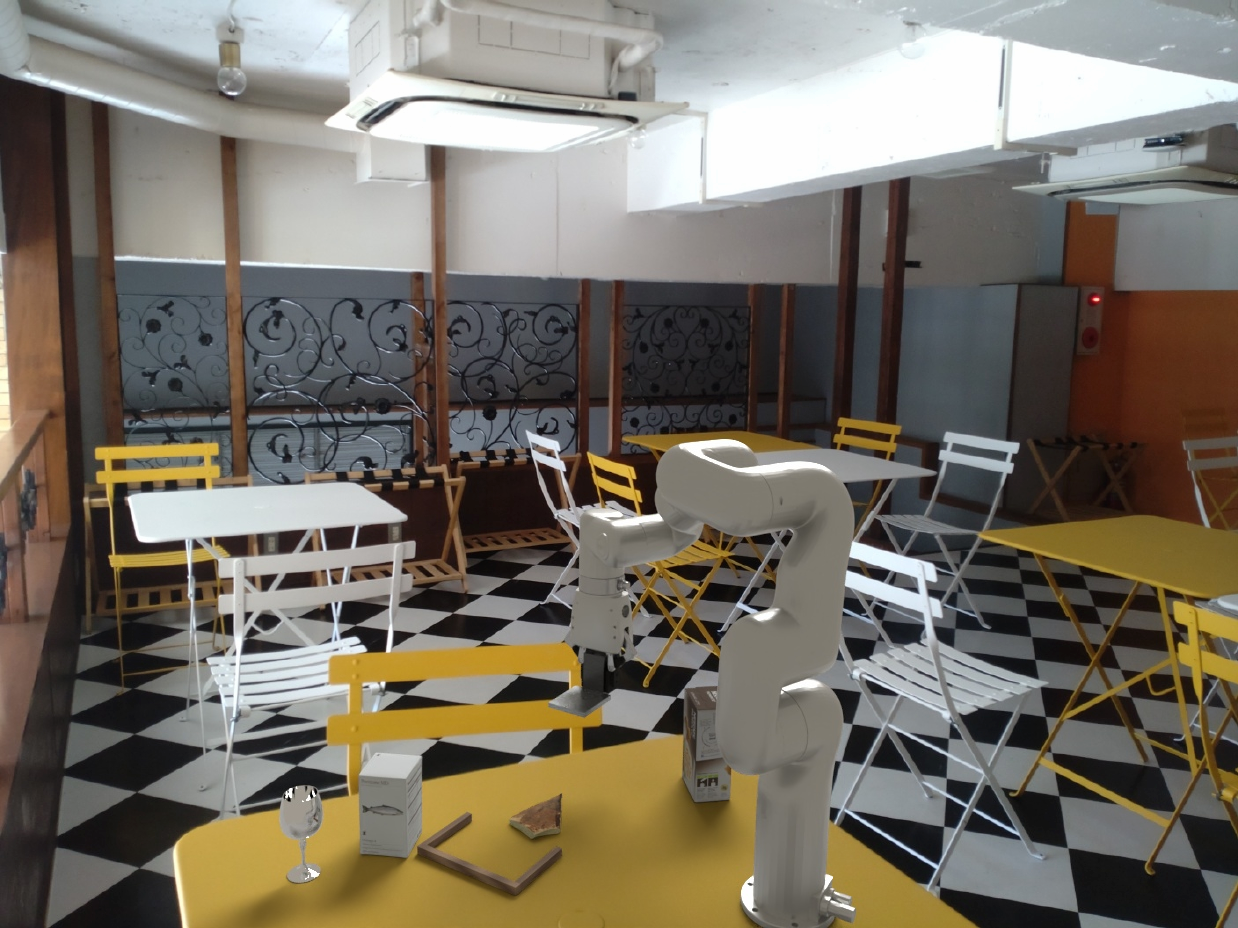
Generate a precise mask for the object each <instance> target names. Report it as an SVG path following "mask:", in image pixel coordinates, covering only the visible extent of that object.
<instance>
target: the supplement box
mask: <svg viewBox="0 0 1238 928" xmlns="http://www.w3.org/2000/svg"><path fill="white" fill-rule="evenodd" d="M422 775H423V755H415V754H400V753H389V752H388V753H386V752H375V753H374V754H373V755H372V757H371V758H370V759H369V761H368V762H367V763H366V764H365V766H364V767H363V768H362V770H361V771H360V773H359V774H358V812H359V814H358V816H359V821H358V822H359V854H360V855H372V856H373V855H374V856H386V857H387V856H388V857H397V858H403V859H407V858H408V857H409V856H410V854H411V851H412V850H413V848H414V847H415V845H416V843H417V842H418V840H419V838H420V836H421V834H422V832H423V776H422Z"/></svg>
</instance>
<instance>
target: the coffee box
mask: <svg viewBox="0 0 1238 928" xmlns="http://www.w3.org/2000/svg"><path fill="white" fill-rule="evenodd" d="M717 688H718V685H709V686H707V685H706V686H704V685H703V686H696V687H686V688H684V689H683V690H684V691H683V692H684V694H683V695H684V698H683V699H684V700H683V735H682V736H683V738H682V739H683V740H682V769H681V770H682V773H681V774H682V775H681V777H682V780H683V781H684V783H685V785H686V787H687V790H688V792H689V794H690V796H691V798H692V800H693V802H694V803H702V802H703V803H704V802H715V801H716V802H718V801H728V800H730V799H731V791H732V790H731V785H732V784H731V783H732V768H730V767H729V765H728V764H727V763H726V762H725V760H724V759H723V757H722V755H721V753H720V750H719V747H718V743H717V739H716V729H715V718H716V702H717Z"/></svg>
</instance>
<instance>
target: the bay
mask: <svg viewBox="0 0 1238 928" xmlns="http://www.w3.org/2000/svg"><path fill="white" fill-rule="evenodd" d="M472 821H473V814H472V813H471V812H468V811H466V812H465V813H463V814H462V815H460V816H459V817H458V818H456V819H454V820H453V821H451V822H450V823H449V824H447V825H446V826H444V827H443V828H441V829H440V830H438V831H437V832H435V833H434V834H433V835H431V836H429V838H426V839H425V840H424V841H422V842H421V843H420V844H418V845H417V846H416V854H417V855H420V856H422V857H424V858H426V859H428V860H431V861H434V862H436V863H438V864H440V865H442V866H445V867H447V868H450V869H451V870H455V871H457V872H459V873H461V874H463V875H466V876H469V877H471V878H473V879H476V880H478V881H480V882H482V883H485V884H487V885H490V886H491V887H494V888H496V889H499V890H500V891H504V892H505V893H509V894H510V895H512V896H515V897H516V896H517V895H518V894H520V893H521V892H522V891H523V890H524V889H525V888H526V887H528V886H529V885H530V884H531V883H533V882H534V881H535V880H536V879H537V878H538V877H539V876H540V875H542V874H543V873H544V872H545V871H547V869H549V868H550V867H551V866H552V865H553V864H554V863H556V862H557V861H558V860H559V859H560V858H561V857H563V848H562V847H560V846H557V845H556V846H555V847H553V849H552V850H550V851H549V852H548V853H546V854H544V856H543V857H542V858H540V859H539V860H538V861H537V862H536V863H535V864H534V865H531V867H530V868H529V869H528V870H526V871H525V872H524V873H523V874H521V876H519V877H518V878H517V879H516V880H511V879H510V878H507V877H504V876H502V875H500V874H498V873H495V872H492V871H490V870H487V869H485V868H483V867H481V866H478V865H476V864H473V863H471V862H469V861H466V860H464V859H462V858H459V857H457V856H454V855H452V854H449V853H447V852H445V851H442V850H440V849H438V848H436V847H437V846H439V845H440V844H441V843H443V842H444V841H446V840H447V839H449V838H450V837H452V836H453V835H454V834H456V833H457V832H459V831H460V830H461V829H462V828H464V827H465V826H467V825H469V824H470V823H471V822H472Z"/></svg>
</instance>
